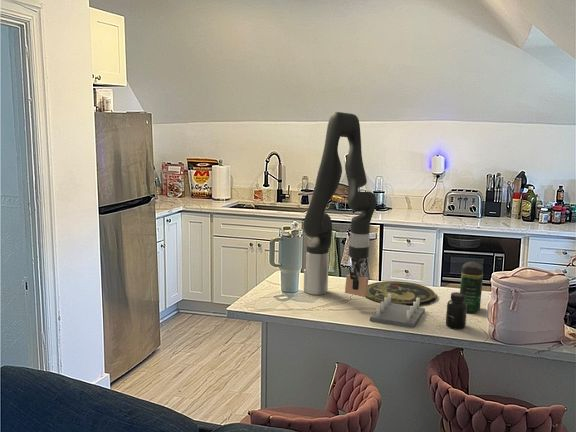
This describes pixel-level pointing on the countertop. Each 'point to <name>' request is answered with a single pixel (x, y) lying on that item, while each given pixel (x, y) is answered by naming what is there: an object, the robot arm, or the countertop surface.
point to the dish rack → (398, 313)
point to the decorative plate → (400, 293)
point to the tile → (361, 288)
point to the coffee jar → (472, 285)
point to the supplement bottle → (456, 311)
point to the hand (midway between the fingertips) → (356, 288)
